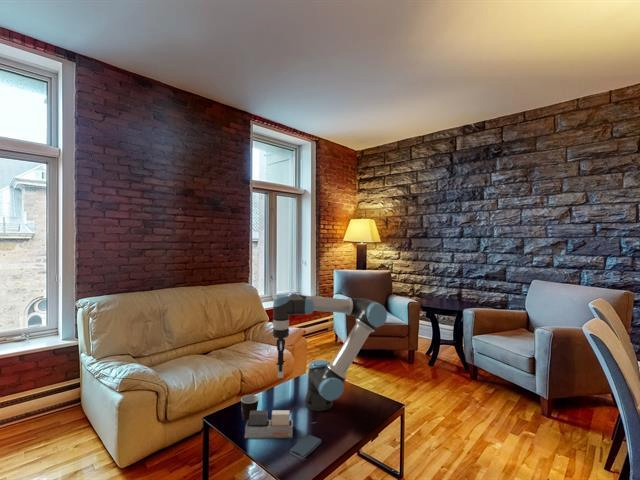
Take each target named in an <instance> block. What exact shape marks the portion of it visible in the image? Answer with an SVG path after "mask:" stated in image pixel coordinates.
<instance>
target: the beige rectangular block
mask: <svg viewBox="0 0 640 480" xmlns="http://www.w3.org/2000/svg"><path fill="white" fill-rule="evenodd" d="M290 411H291V410H290V409H289V410H283V409H282V410H280V409H278V410H273V409H272V411H271V420H272V424H271V426H289V420H290V413H291V412H290Z"/></svg>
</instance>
